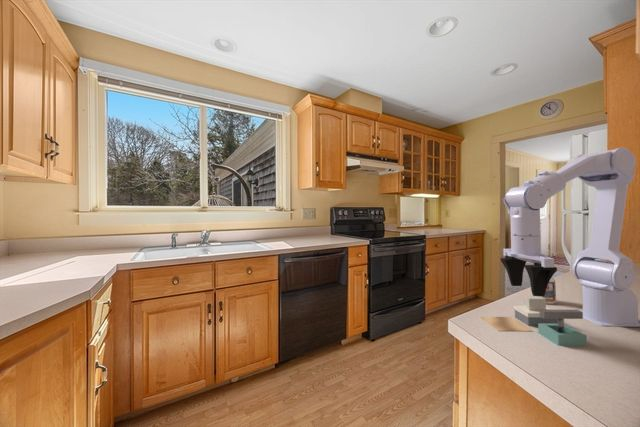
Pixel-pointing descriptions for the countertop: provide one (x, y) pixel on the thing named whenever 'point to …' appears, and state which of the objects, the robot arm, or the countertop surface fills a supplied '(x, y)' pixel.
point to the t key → (561, 316)
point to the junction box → (534, 319)
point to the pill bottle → (550, 292)
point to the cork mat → (505, 324)
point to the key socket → (562, 335)
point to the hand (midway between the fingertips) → (526, 290)
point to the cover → (532, 306)
